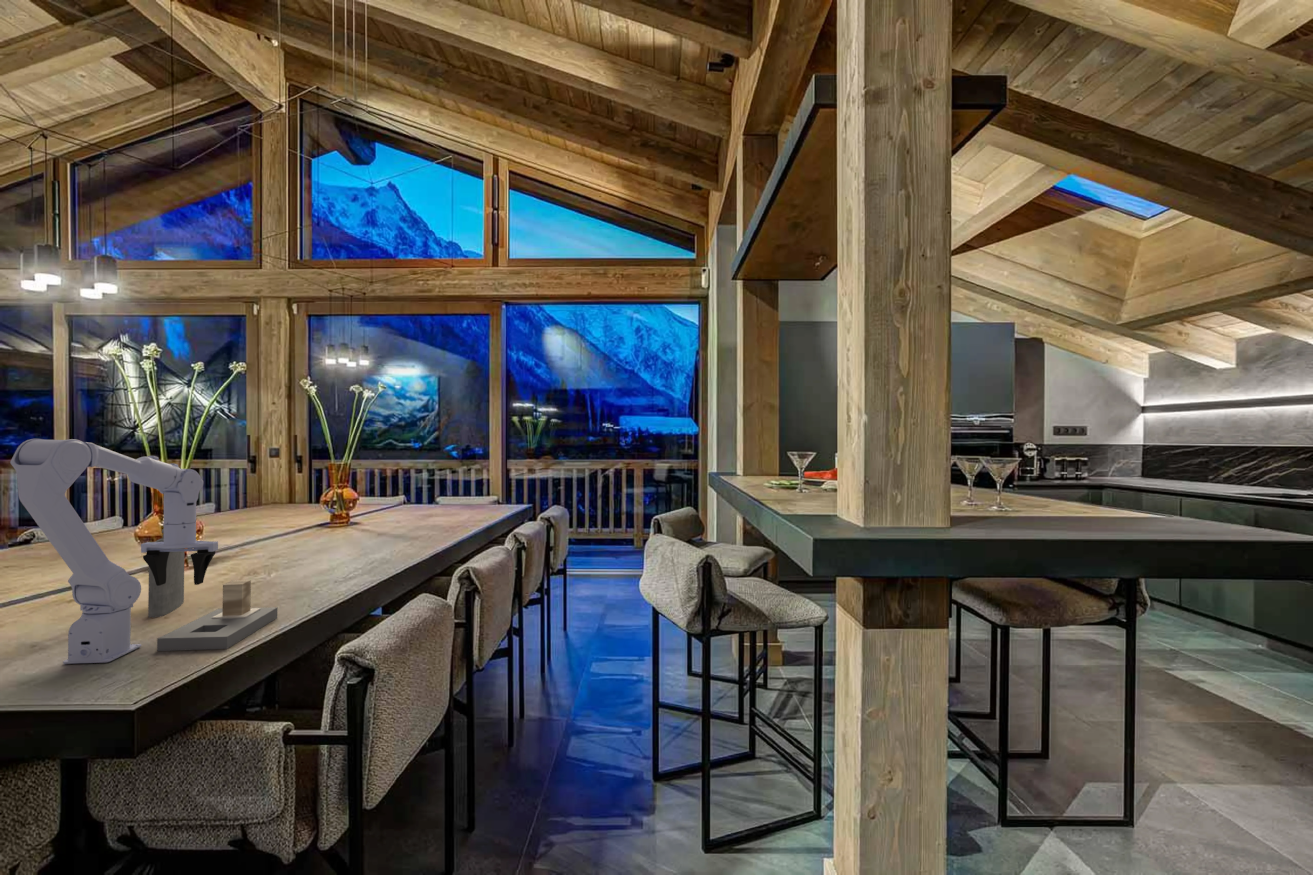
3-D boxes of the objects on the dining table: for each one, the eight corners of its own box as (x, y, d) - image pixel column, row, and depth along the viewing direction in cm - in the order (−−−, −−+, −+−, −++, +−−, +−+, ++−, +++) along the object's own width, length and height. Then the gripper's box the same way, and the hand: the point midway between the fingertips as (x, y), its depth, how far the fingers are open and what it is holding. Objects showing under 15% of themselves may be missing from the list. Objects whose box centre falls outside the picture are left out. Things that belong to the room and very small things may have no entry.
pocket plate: (227, 648, 127) (227, 635, 127) (157, 650, 126) (157, 637, 126) (277, 617, 149) (277, 606, 149) (218, 619, 147) (218, 607, 147)
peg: (241, 615, 142) (242, 584, 142) (222, 615, 141) (222, 584, 141) (250, 610, 145) (250, 580, 145) (231, 610, 145) (232, 580, 145)
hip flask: (171, 601, 163) (172, 524, 163) (189, 600, 164) (190, 523, 164) (145, 618, 148) (146, 533, 148) (166, 616, 149) (167, 532, 149)
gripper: (225, 519, 143) (225, 579, 143) (155, 520, 141) (155, 580, 141) (207, 524, 136) (207, 586, 136) (134, 525, 134) (134, 588, 134)
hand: (180, 584), depth 138 cm, fingers open, 7 cm apart
